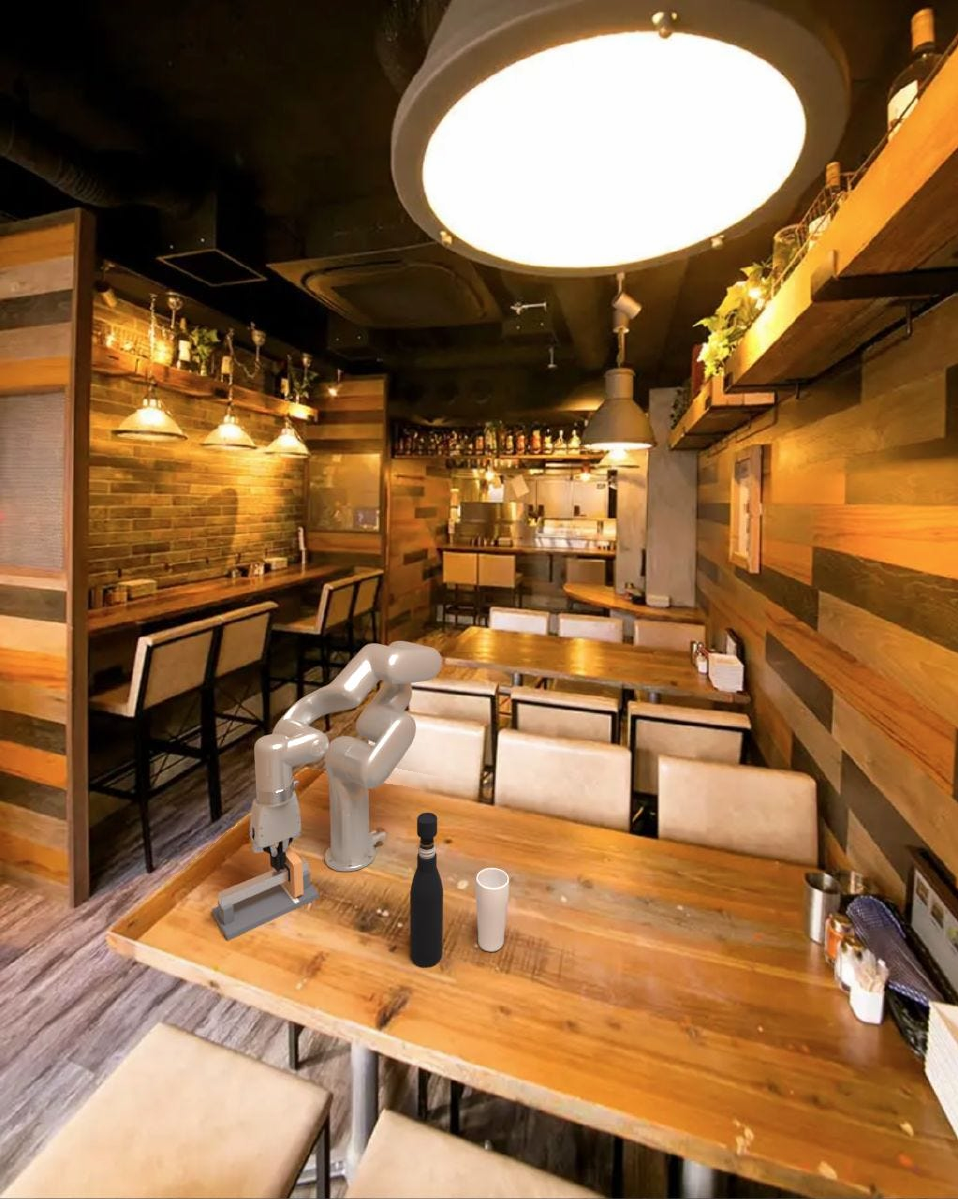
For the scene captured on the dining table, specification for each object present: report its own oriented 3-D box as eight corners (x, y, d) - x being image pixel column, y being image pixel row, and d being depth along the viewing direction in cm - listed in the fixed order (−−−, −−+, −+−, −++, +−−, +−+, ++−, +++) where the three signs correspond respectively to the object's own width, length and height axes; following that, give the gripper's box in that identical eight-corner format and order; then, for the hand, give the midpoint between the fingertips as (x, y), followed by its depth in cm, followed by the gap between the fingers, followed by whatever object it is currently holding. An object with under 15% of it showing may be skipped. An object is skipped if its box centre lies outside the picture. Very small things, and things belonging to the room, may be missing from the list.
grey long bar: (303, 866, 134) (303, 856, 134) (308, 872, 132) (308, 861, 132) (218, 902, 122) (217, 891, 121) (222, 909, 120) (222, 898, 119)
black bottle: (437, 970, 111) (438, 829, 106) (405, 964, 113) (405, 824, 107) (445, 945, 117) (447, 811, 112) (415, 940, 119) (416, 807, 113)
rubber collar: (288, 875, 135) (287, 844, 133) (303, 893, 129) (302, 861, 127) (280, 879, 133) (279, 848, 132) (295, 897, 128) (293, 865, 126)
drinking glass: (511, 936, 120) (513, 871, 118) (501, 960, 114) (503, 892, 112) (480, 927, 123) (482, 864, 120) (469, 950, 116) (471, 884, 114)
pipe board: (299, 875, 138) (299, 857, 137) (318, 897, 131) (318, 879, 130) (212, 913, 125) (210, 894, 124) (227, 940, 117) (226, 920, 117)
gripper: (300, 775, 133) (302, 847, 136) (233, 795, 123) (238, 873, 126) (314, 787, 127) (317, 862, 130) (246, 810, 117) (250, 890, 121)
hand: (278, 867), depth 128 cm, fingers closed
